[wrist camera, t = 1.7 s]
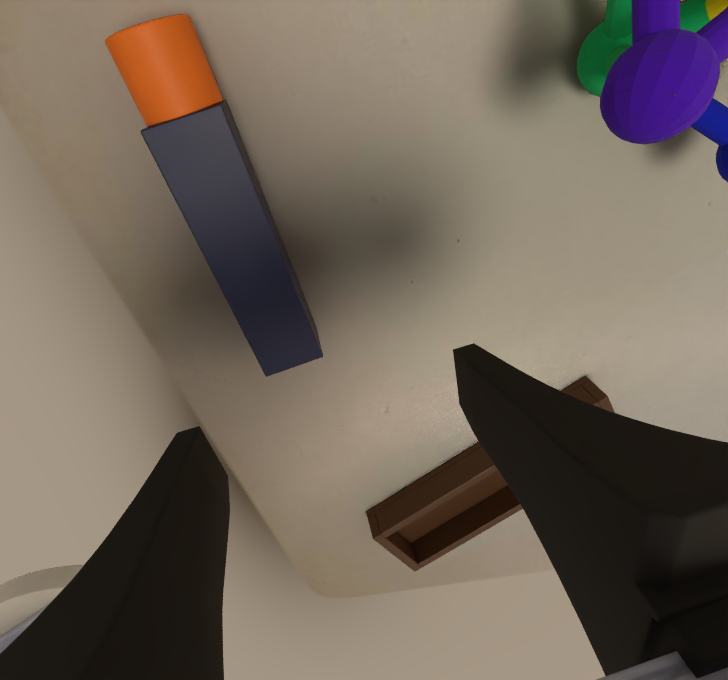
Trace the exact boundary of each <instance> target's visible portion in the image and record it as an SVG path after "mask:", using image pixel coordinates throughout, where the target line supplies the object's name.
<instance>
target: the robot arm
mask: <svg viewBox="0 0 728 680" xmlns="http://www.w3.org/2000/svg"><path fill="white" fill-rule="evenodd" d="M453 353H454V362H455V370H456V378H457V386H458V395H459V403H460V406H461V408H462V410H463V412H464V414H465V416H466V418H467V420H468V422H469V424H470V426H471V428H472V430H473V432H474V434H475V436H476V437H477V439H478V440H479V442H480V443H481V445H482V446H483V448H484V449H485V451H486V453H487V454H488V456H489V457H490V459H491V460H492V462H493V463H494V465H495V466H496V468H497V469H498V471H499V472H500V474H501V475H502V477H503V478H504V480H505V481H506V483H507V484H508V486H509V487H510V489H511V490H512V492H513V493H514V495H515V496H516V498H517V499H518V501H519V503H520V504H521V506H522V508H523V509H524V511H525V513H526V515H527V517H528V518H529V520H530V522H531V524H532V526H533V528H534V530H535V532H536V534H537V535H538V537H539V539H540V541H541V543H542V545H543V547H544V549H545V551H546V553H547V555H548V557H549V559H550V561H551V563H552V564H553V566H554V568H555V570H556V572H557V574H558V576H559V578H560V580H561V582H562V584H563V586H564V588H565V591H566V593H567V595H568V597H569V598H570V601H571V603H572V605H573V607H574V609H575V611H576V613H577V615H578V617H579V619H580V621H581V623H582V625H583V628H584V630H585V632H586V634H587V636H588V638H589V641H590V643H591V645H592V647H593V649H594V651H595V654H596V656H597V658H598V660H599V662H600V664H601V666H602V669H603V671H604V673H605V675H606V676H605V677H603V678H600V679H597V680H728V443H727V442H722V441H716V440H711V439H706V438H702V437H698V436H694V435H689V434H685V433H681V432H677V431H673V430H669V429H665V428H662V427H658V426H654V425H651V424H647V423H644V422H641V421H638V420H635V419H631V418H628V417H625V416H622V415H619V414H616V413H613V412H610V411H607V410H605V409H602V408H600V407H597V406H594V405H592V404H589V403H587V402H584V401H581V400H579V399H577V398H574V397H572V396H570V395H568V394H565V393H563V392H561V391H559V390H557V389H555V388H553V387H551V386H548V385H546V384H544V383H542V382H541V381H539V380H537V379H535V378H533V377H531V376H529V375H527V374H525V373H524V372H522V371H520V370H518V369H516V368H515V367H513V366H511V365H509V364H508V363H506V362H504V361H503V360H501V359H499V358H498V357H496V356H494V355H493V354H491V353H489V352H487V351H486V350H484V349H482V348H481V347H479V346H477V345H476V344H470V345H467V346H464V347H460V348H457V349H454V350H453ZM229 515H230V502H229V484H228V475H227V473H226V471H225V470H224V468H223V466H222V465H221V463H220V461H219V459H218V458H217V456H216V454H215V452H214V451H213V449H212V447H211V446H210V444H209V442H208V440H207V438H206V437H205V435H204V433H203V432H202V430H201V428H200V426H198V427H195V428H191V429H188V430H185V431H182V432H178V433H177V434H176V435H175V437H174V438H173V440H172V441H171V443H170V444H169V446H168V448H167V449H166V450H165V452H164V454H163V455H162V457H161V458H160V460H159V462H158V463H157V465H156V466H155V468H154V470H153V471H152V473H151V474H150V476H149V477H148V479H147V480H146V482H145V483H144V485H143V486H142V488H141V489H140V491H139V492H138V494H137V495H136V497H135V498H134V500H133V501H132V503H131V504H130V505H129V507H128V508H127V510H126V511H125V513H124V514H123V515H122V517H121V518H120V519H119V521H118V522H117V524H116V525H115V526H114V528H113V529H112V531H111V532H110V534H109V535H108V536H107V537H106V539H105V540H104V541H103V543H102V544H101V545H100V546H99V548H98V549H97V550H96V551H95V553H94V554H93V555H92V556H91V558H90V559H89V560H88V561H87V562H86V564H85V565H84V566H83V567H82V568H81V569H80V571H79V572H78V573H77V574H76V575H75V577H74V578H73V579H72V580H71V581H70V582H69V583H68V584H67V586H66V587H65V588H64V589H63V590H62V591H61V592H60V593H59V594H58V595H57V596H56V597H55V598H54V600H53V601H52V602H51V603H50V604H49V605H47V606H46V607H44V608H43V609H41V610H40V611H38V612H37V613H35V614H34V615H32V616H31V617H29V618H28V619H26V620H25V621H23V622H22V623H20V624H19V625H17V626H16V627H14V628H13V629H11V630H10V631H8V632H7V633H5V634H4V635H2V636H1V637H0V680H224V669H223V634H222V633H223V630H222V605H223V587H224V575H225V564H226V553H227V541H228V529H229Z"/></svg>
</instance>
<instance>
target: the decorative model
mask: <svg viewBox="0 0 728 680" xmlns="http://www.w3.org/2000/svg"><path fill="white" fill-rule="evenodd" d="M727 57H728V0H687V1H686V2H684V3H682V4H680V0H607V8H606V17H605V20H604V21H603V22H602V23H600V24H599V25H598V26H597V27H596V28H595V29H594V30H592V31H591V32H590V33H589V35H588V36H587V37H586V39H585V40H584V42H583V44H582V46H581V48H580V52H579V56H578V61H577V75H578V78H579V80H580V82H581V84H582V85H583V87H584V88H585V89H586V90H587V91H588V92H589V93H591V94H593V95H596V96H599V97H600V109H601V113H602V117H603V119H604V121H605V123H606V124H607V126H608V128H609V129H610V131H611V132H612V133H614V134H615V135H616V136H617V137H619V138H621V139H622V140H625V141H628V142H631V143H638V144H650V143H657V142H660V141H664V140H667V139H669V138H671V137H673V136H675V135H677V134H679V133H680V132H682V131H684V130H686V129H687V128H688V127H692V128H693V129H695V130H697V131H698V132H700V133H701V134H703V135H704V136H706V137H707V138H709V139H711V140H712V141H714V142H715V143H717V144H718V145H719V146H718V150H717V153H716V164H717V168H718V171H719V174H720V175H721V176H722V178H723V179H724V180H726V181H727V182H728V108H727V107H726V106H724V105H723V104H721V103H720V102H718V101H717V100H715V99H714V98H713V95H714V92H715V89H716V86H717V83H718V79H719V74H720V63H721V62H722V61H723V60H725V59H726V58H727Z"/></svg>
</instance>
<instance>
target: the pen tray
mask: <svg viewBox="0 0 728 680" xmlns="http://www.w3.org/2000/svg"><path fill="white" fill-rule="evenodd" d="M561 392H563V393H565V394H568V395H570V396H572V397H574V398H577V399H579V400H581V401H584V402H587V403H589V404H592V405H594V406H597V407H600V408H602V409H605V410H607V411H610V412H613V413H615V412H614V410H613V408H612V405H611V403H610V401H609V398H608V396H607V395H606V394H605V393H604V392H603V391H601V390H600V389H599V388H598V387H597V386H596V385H595V384H594V383H593V382H592V381H591V380H590V379H589V378H588V377H586V376H585V377H584V378H582V379H580V380H579V381H577V382H576V383H574V384H572V385H571V386H569V387H568V388H566V389H564V390H563V391H561ZM521 509H523V508H522V506H521V504H520V503H519V501H518V499H517V498H516V496H515V495H514V493H513V492H512V490H511V489H510V487H509V486H508V484H507V483H506V481H505V480H504V478H503V477H502V475H501V474H500V472H499V471H498V469H497V468H496V466H495V465H494V463H493V462H492V460H491V459H490V457H489V456H488V454H487V453H486V451H485V449H484V448H483V446H482V445H481V443H480V442H479V443H477V444H476V445H474V446H472V447H471V448H469V449H468V450H466V451H464V452H463V453H461V454H459V455H458V456H456V457H455V458H453V459H451V460H450V461H448V462H447V463H445V464H443V465H442V466H440V467H438V468H437V469H435V470H434V471H432V472H430V473H429V474H427V475H426V476H424V477H422V478H421V479H419V480H417V481H416V482H414V483H413V484H411V485H409V486H408V487H406V488H405V489H403V490H401V491H400V492H398V493H397V494H395V495H393V496H392V497H390V498H388V499H387V500H385V501H384V502H382V503H380V504H379V505H377V506H376V507H374V508H372V509H371V510H369V511H367V512H366V513H367V517H368V521H369V525H370V528H371V532H372V536H373V539H374V540H375V541H377V542H378V543H379V544H380V545H382V546H383V547H384V548H385V549H387V550H388V551H389V552H391V553H392V554H393V555H394V556H396V557H397V558H398V559H400V560H401V561H402V562H403V563H405V564H406V565H407V566H408V567H410V568H411V569H412V570H414V571H417V570H418V569H420V568H422V567H424V566H425V565H427V564H429V563H431V562H432V561H434V560H436V559H437V558H439V557H441V556H443V555H444V554H446V553H448V552H449V551H451V550H453V549H455V548H456V547H458V546H460V545H461V544H463V543H465V542H467V541H468V540H470V539H472V538H473V537H475V536H477V535H478V534H480V533H482V532H484V531H485V530H487V529H489V528H490V527H492V526H494V525H496V524H497V523H499V522H501V521H502V520H504V519H506V518H508V517H509V516H511V515H513V514H514V513H516V512H518V511H519V510H521Z"/></svg>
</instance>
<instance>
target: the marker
mask: <svg viewBox="0 0 728 680" xmlns="http://www.w3.org/2000/svg"><path fill="white" fill-rule="evenodd" d="M105 44H106V46H107V48H108V50H109V52H110V54H111V56H112V58H113V60H114V62H115V63H116V65H117V67H118V69H119V71H120V73H121V75H122V77H123V79H124V81H125V83H126V85H127V87H128V89H129V91H130V93H131V95H132V97H133V99H134V101H135V103H136V105H137V107H138V109H139V111H140V113H141V115H142V117H143V119H144V121H145V123H146V125H147V126H149V127H147V128H145V129H143V130H141V134H142V136H143V138H144V140H145V142H146V144H147V146H148V148H149V149H150V151H151V153H152V155H153V157H154V159H155V161H156V163H157V165H158V167H159V169H160V171H161V173H162V175H163V177H164V179H165V181H166V183H167V185H168V187H169V188H170V190H171V192H172V194H173V196H174V198H175V200H176V202H177V204H178V206H179V208H180V210H181V212H182V214H183V216H184V218H185V220H186V222H187V224H188V226H189V227H190V229H191V231H192V233H193V235H194V237H195V239H196V241H197V243H198V245H199V247H200V249H201V251H202V253H203V255H204V257H205V259H206V261H207V263H208V265H209V267H210V268H211V270H212V272H213V274H214V276H215V278H216V280H217V282H218V284H219V286H220V288H221V290H222V292H223V294H224V296H225V298H226V300H227V302H228V304H229V306H230V307H231V309H232V311H233V313H234V315H235V317H236V319H237V321H238V323H239V325H240V327H241V329H242V331H243V333H244V335H245V337H246V339H247V341H248V343H249V345H250V346H251V348H252V350H253V352H254V354H255V356H256V358H257V360H258V362H259V364H260V366H261V368H262V370H263V372H264V374H265V376H270V375H272V374H275V373H278V372H281V371H284V370H287V369H290V368H292V367H295V366H298V365H301V364H304V363H307V362H309V361H312V360H315V359H318V358H321V357H323V353H322V349H321V345H320V341H319V336H318V332H317V328H316V325H315V323H314V320H313V318H312V315H311V313H310V310H309V308H308V305H307V302H306V300H305V297H304V295H303V292H302V290H301V287H300V285H299V282H298V280H297V277H296V275H295V272H294V270H293V267H292V265H291V262H290V260H289V257H288V255H287V252H286V250H285V247H284V245H283V242H282V240H281V237H280V235H279V232H278V229H277V227H276V224H275V222H274V219H273V217H272V214H271V212H270V209H269V207H268V204H267V202H266V199H265V197H264V194H263V192H262V189H261V187H260V184H259V182H258V179H257V177H256V174H255V172H254V169H253V167H252V164H251V162H250V159H249V156H248V154H247V151H246V149H245V146H244V144H243V141H242V139H241V136H240V134H239V131H238V129H237V126H236V124H235V121H234V119H233V116H232V114H231V111H230V109H229V106H228V104H227V101H226V100H223V98H222V96H221V93H220V91H219V88H218V86H217V83H216V81H215V78H214V76H213V73H212V71H211V68H210V66H209V63H208V61H207V58H206V56H205V53H204V51H203V48H202V46H201V43H200V41H199V38H198V36H197V33H196V31H195V28H194V26H193V23H192V21H191V18H190V17H189V15H184V14H180V15H173V16H167V17H163V18H159V19H155V20H151V21H148V22H144V23H141V24H138V25H135V26H132V27H129V28H126V29H124V30H121V31H119V32H117V33H115V34H113V35H111V36H109V37H108V38H107V39H106V40H105Z"/></svg>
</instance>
